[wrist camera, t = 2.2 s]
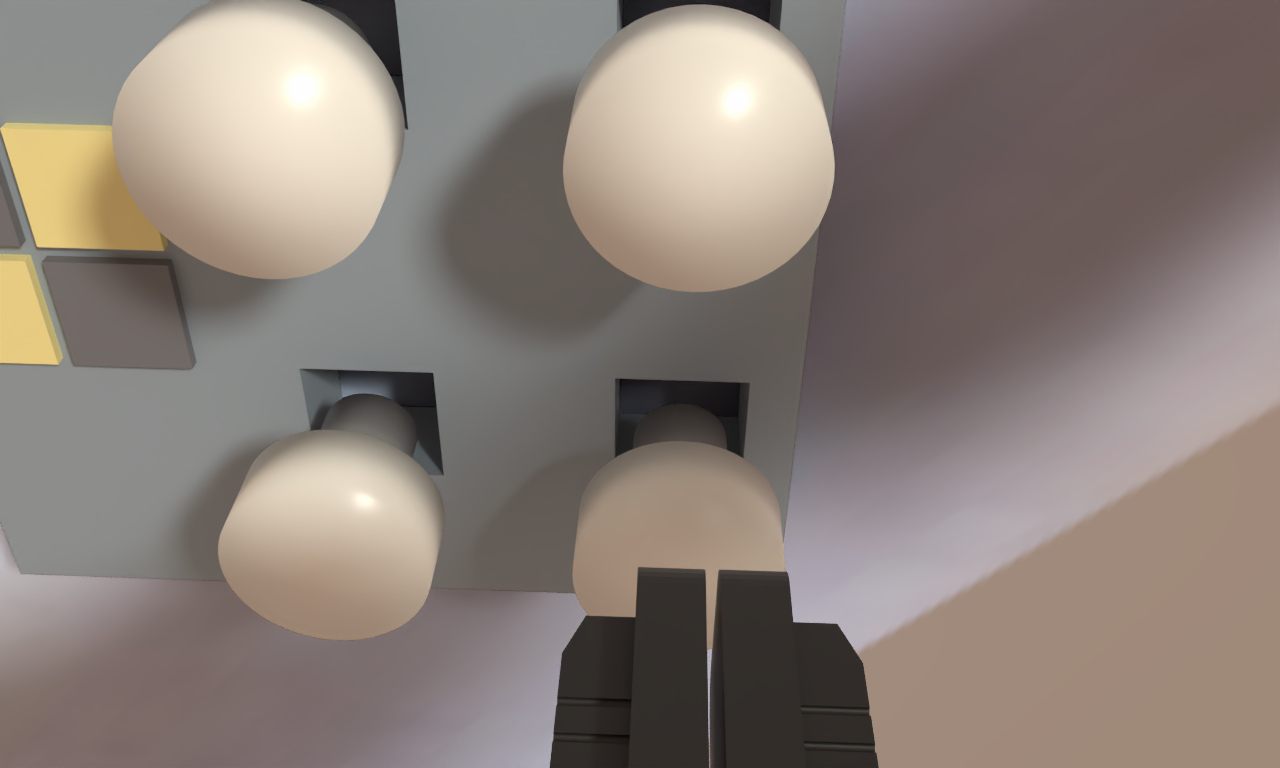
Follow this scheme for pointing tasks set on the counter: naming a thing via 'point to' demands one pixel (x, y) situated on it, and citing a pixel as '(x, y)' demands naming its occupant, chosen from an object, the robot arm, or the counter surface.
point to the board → (352, 305)
